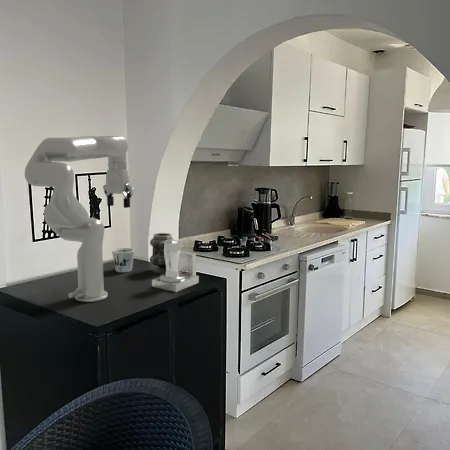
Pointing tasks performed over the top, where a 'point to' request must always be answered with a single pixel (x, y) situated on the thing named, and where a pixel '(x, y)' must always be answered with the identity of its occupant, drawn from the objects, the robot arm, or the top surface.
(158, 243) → the apothecary jar
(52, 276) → the top surface
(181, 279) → the scale pan
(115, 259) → the mug
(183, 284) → the scale
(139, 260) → the top surface
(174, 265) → the beer glass
